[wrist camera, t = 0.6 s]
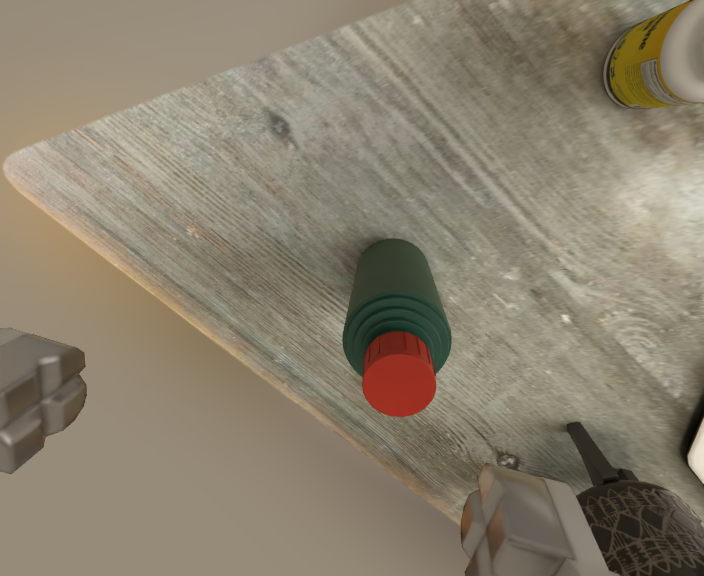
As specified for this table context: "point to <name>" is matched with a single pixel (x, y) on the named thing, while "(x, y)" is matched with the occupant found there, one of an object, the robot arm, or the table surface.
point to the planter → (637, 519)
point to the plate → (697, 452)
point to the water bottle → (395, 302)
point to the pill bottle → (659, 60)
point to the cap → (398, 374)
